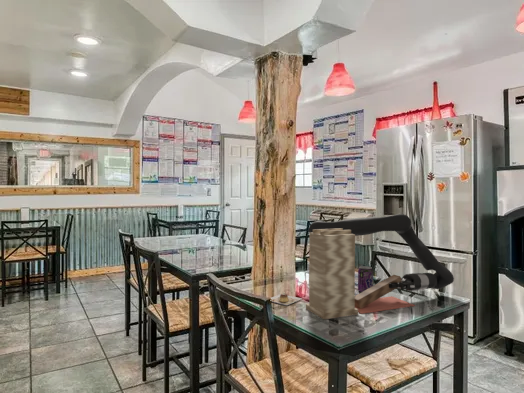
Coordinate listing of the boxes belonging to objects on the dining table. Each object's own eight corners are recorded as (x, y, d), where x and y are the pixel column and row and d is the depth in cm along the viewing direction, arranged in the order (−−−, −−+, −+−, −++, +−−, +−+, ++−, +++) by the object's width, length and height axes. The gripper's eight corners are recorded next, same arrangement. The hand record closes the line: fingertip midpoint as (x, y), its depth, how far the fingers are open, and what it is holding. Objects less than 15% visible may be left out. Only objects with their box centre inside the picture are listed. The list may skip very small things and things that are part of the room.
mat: (361, 313, 146) (361, 312, 146) (341, 303, 159) (341, 303, 159) (414, 305, 157) (414, 304, 157) (391, 297, 170) (391, 296, 170)
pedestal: (323, 319, 140) (324, 232, 139) (305, 308, 153) (306, 228, 152) (358, 314, 146) (358, 230, 145) (338, 304, 159) (338, 227, 158)
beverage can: (362, 294, 174) (363, 269, 174) (355, 290, 181) (355, 266, 181) (375, 293, 176) (376, 268, 176) (367, 289, 183) (368, 265, 183)
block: (360, 308, 151) (357, 300, 151) (354, 306, 155) (352, 297, 154) (402, 284, 160) (400, 276, 159) (396, 282, 164) (393, 274, 163)
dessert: (281, 296, 173) (281, 286, 173) (302, 301, 165) (302, 290, 165) (265, 302, 163) (265, 291, 163) (287, 307, 156) (287, 296, 156)
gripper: (403, 270, 172) (374, 272, 165) (428, 276, 159) (397, 279, 152) (403, 286, 172) (374, 289, 165) (428, 293, 159) (397, 297, 152)
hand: (385, 284), depth 159 cm, fingers closed on block, 4 cm apart
